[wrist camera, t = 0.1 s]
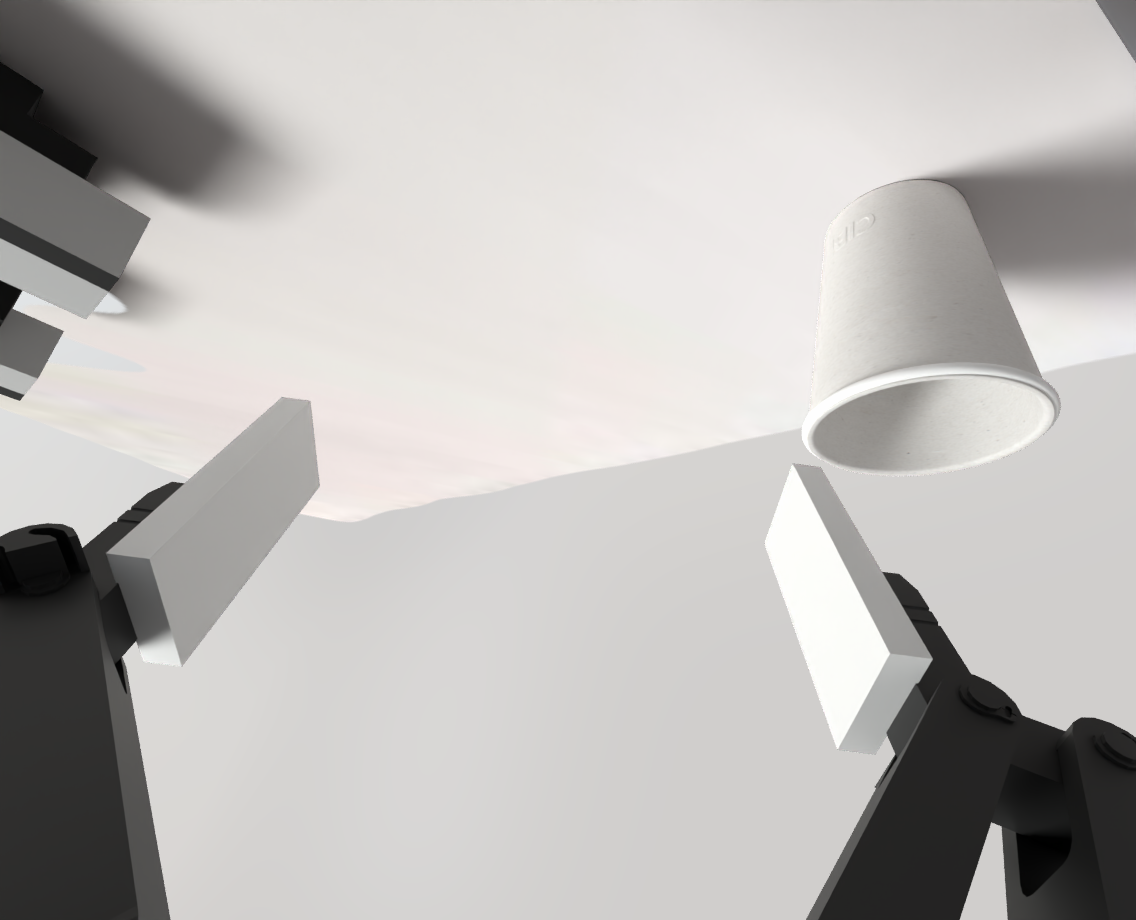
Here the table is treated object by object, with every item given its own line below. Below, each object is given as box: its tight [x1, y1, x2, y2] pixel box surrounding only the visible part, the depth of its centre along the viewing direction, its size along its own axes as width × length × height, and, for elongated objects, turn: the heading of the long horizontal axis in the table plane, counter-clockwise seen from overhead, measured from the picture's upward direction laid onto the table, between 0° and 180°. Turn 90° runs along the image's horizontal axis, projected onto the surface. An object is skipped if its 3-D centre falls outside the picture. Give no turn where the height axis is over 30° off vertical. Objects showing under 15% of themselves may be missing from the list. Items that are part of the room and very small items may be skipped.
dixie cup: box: [802, 180, 1061, 476], centre depth 25 cm, size 8×8×10 cm
